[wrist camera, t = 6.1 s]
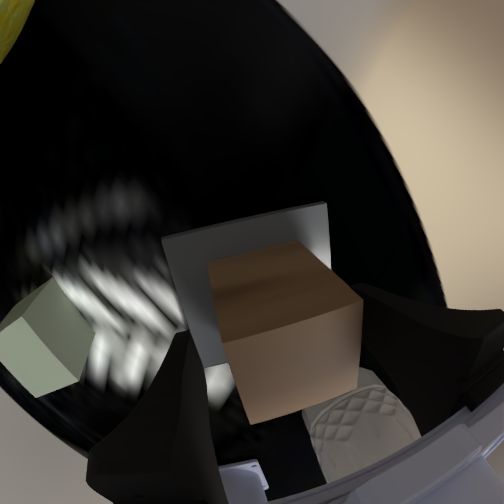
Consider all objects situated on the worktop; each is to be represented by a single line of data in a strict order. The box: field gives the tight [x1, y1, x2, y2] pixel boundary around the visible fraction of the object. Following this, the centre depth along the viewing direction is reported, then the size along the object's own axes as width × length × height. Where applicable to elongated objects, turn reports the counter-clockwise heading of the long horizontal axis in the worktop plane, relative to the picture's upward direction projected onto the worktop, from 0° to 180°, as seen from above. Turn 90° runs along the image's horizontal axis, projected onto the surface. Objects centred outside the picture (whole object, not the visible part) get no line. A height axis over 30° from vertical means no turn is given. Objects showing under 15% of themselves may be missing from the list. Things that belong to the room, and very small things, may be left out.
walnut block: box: [206, 240, 363, 425], centre depth 12 cm, size 4×4×6 cm
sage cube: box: [0, 277, 95, 398], centre depth 11 cm, size 4×4×4 cm
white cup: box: [302, 367, 421, 484], centre depth 16 cm, size 8×8×10 cm
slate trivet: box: [161, 201, 331, 368], centre depth 15 cm, size 8×8×1 cm
